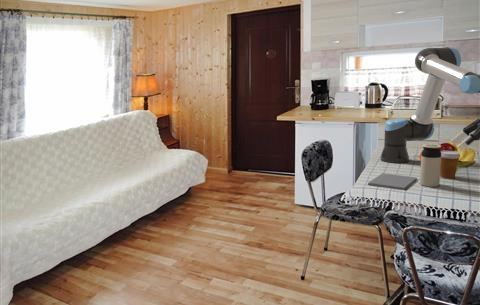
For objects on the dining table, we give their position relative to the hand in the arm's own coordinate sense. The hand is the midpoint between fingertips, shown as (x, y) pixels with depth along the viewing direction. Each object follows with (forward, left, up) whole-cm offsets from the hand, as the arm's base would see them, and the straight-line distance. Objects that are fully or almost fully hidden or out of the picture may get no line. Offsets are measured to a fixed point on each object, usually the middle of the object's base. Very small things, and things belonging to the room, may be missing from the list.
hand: (455, 146), depth 181 cm
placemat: (+7, -24, -18) cm, 31 cm away
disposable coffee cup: (-15, -5, -18) cm, 24 cm away
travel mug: (+3, -9, -18) cm, 21 cm away
